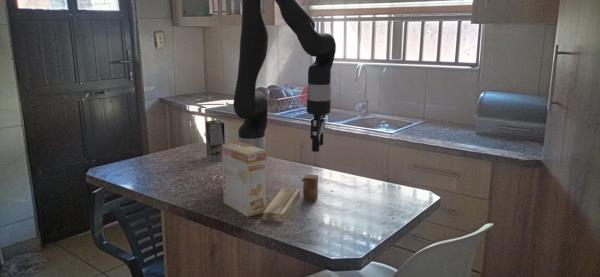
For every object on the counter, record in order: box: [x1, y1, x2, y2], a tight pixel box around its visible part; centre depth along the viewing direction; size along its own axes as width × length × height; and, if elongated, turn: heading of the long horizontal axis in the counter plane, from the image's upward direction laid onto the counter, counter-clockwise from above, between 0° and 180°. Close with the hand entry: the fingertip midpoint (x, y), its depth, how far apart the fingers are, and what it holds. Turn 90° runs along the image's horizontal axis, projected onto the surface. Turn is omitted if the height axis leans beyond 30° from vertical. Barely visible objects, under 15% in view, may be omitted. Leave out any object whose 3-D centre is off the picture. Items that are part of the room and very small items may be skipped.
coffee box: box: [205, 119, 226, 163], centre depth 203 cm, size 9×6×16 cm
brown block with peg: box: [301, 173, 319, 203], centre depth 156 cm, size 5×4×8 cm
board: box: [262, 187, 301, 223], centre depth 150 cm, size 6×22×3 cm, turn 168°
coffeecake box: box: [221, 141, 267, 218], centre depth 148 cm, size 15×7×20 cm, turn 37°
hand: (317, 148), depth 154 cm, fingers open, 8 cm apart
